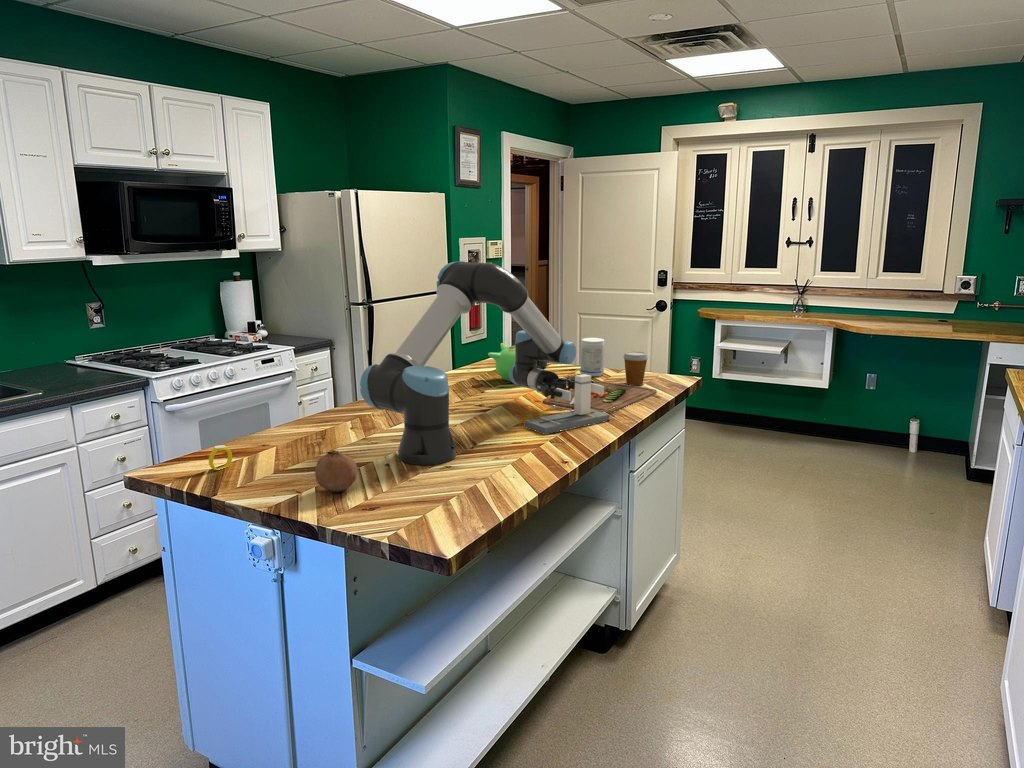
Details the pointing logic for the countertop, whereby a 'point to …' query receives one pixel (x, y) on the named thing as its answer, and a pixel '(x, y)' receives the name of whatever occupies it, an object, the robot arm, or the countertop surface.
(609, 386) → the chopping board
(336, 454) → the onion
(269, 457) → the countertop surface
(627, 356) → the disposable coffee cup
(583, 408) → the fader knob
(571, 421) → the fader console
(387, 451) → the countertop surface
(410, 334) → the robot arm
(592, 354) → the supplement tub
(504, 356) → the green rounded body
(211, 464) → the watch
